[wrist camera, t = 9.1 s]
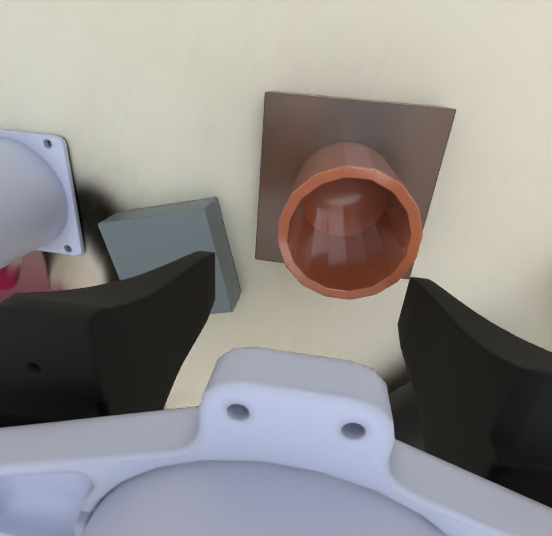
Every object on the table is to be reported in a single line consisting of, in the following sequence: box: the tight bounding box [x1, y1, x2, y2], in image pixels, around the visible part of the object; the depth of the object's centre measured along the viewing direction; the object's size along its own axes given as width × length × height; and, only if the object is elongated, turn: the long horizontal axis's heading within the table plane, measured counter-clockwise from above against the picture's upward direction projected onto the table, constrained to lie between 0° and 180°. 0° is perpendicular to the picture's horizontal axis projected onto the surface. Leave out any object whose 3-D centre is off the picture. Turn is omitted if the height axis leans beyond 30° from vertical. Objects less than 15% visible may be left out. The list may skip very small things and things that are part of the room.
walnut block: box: [255, 91, 456, 279], centre depth 20 cm, size 9×9×2 cm
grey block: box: [98, 197, 241, 314], centre depth 24 cm, size 7×7×2 cm
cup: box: [277, 142, 423, 299], centre depth 16 cm, size 5×5×6 cm
